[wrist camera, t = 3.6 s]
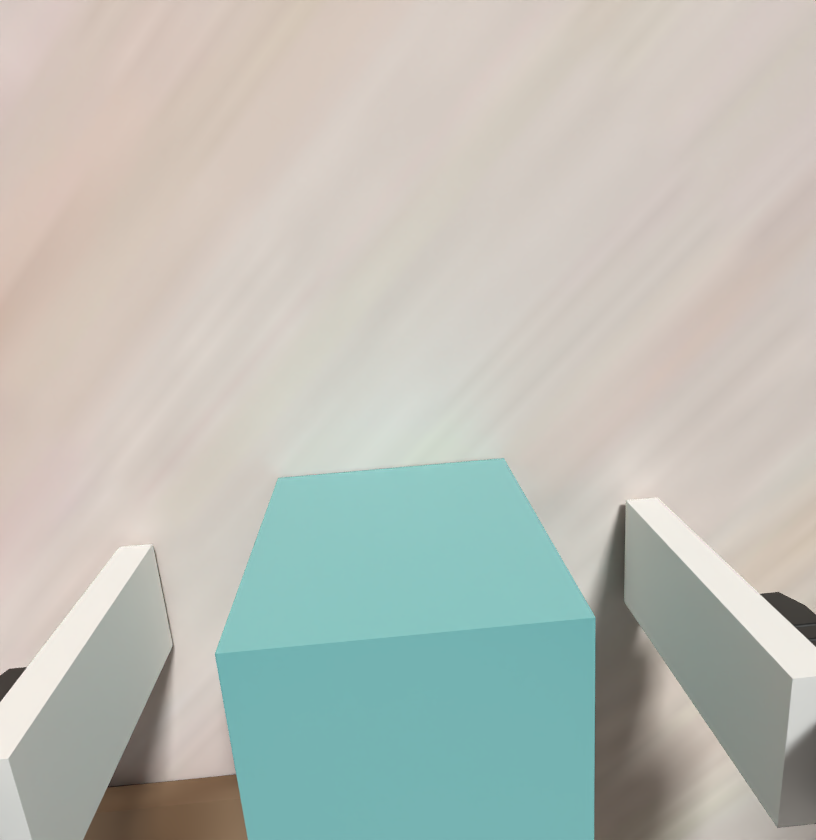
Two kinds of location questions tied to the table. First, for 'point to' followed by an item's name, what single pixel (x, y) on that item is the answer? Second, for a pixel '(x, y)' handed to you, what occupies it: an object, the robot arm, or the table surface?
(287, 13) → the table surface
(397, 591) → the teal rectangular block
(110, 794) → the peg stand
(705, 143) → the table surface
